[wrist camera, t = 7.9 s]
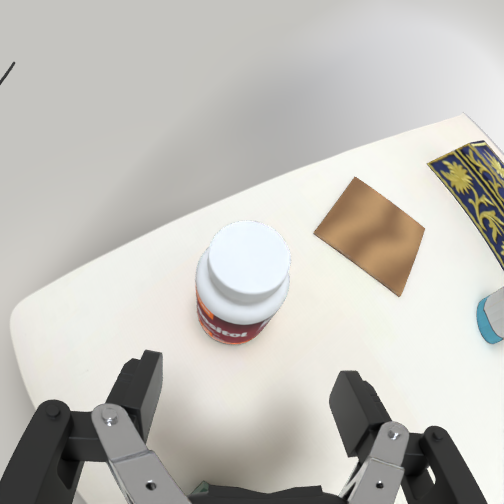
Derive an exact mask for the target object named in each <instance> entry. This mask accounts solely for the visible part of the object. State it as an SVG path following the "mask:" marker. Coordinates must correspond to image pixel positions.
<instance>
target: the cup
mask: <svg viewBox="0 0 504 504" xmlns="http://www.w3.org/2000/svg"><path fill="white" fill-rule="evenodd" d="M477 322H478V326H479V329H480V332H481V334H482V336H483V337H484V339H485V340H486V341H487V342H489V343H491V344H494V343H497V342H499V341H501V340H504V287H502V288H501V289H499V290H497V291H496V292H494V293H493V294H491V295H489V296H488V297H486V298H484V299H483V300H482V301H481V302H480V303H479V305H478V308H477Z"/></svg>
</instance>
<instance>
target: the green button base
mask: <svg viewBox="0 0 504 504" xmlns="http://www.w3.org/2000/svg"><path fill="white" fill-rule="evenodd" d="M208 486H209V484H208V483H206V482H205V481H203V482H202V483H201V484H200V485H199V486H198V487H197V488H196V489H195V490H194V492H193V493H192V494H194V493H199V492H207V491H208Z"/></svg>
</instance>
